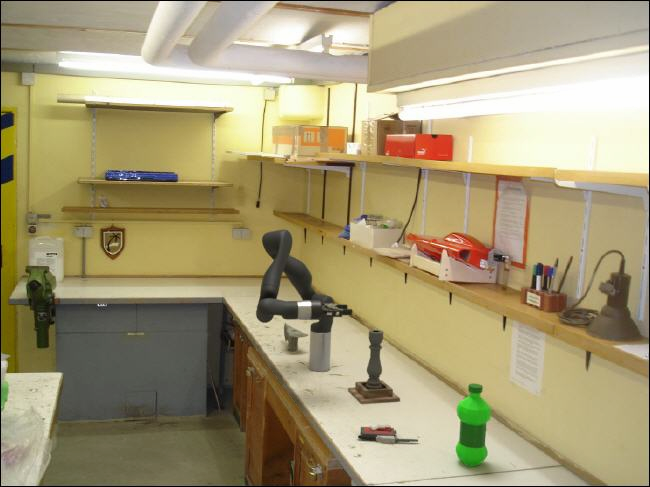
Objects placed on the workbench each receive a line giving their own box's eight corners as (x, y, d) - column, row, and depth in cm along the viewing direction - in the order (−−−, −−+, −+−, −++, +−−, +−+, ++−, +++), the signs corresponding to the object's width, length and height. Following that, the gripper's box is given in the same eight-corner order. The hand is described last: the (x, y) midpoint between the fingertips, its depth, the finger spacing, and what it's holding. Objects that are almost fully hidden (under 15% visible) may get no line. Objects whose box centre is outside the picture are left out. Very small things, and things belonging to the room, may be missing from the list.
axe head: (274, 342, 366) (274, 322, 365) (292, 341, 370) (293, 321, 368) (290, 356, 341) (291, 336, 340) (309, 355, 344) (310, 334, 343)
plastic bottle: (455, 454, 236) (460, 378, 233) (489, 459, 233) (494, 383, 230) (451, 466, 226) (456, 388, 223) (486, 471, 223) (491, 392, 220)
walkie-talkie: (358, 443, 242) (418, 446, 243) (358, 431, 242) (419, 433, 242) (356, 433, 251) (415, 435, 251) (357, 421, 251) (415, 423, 251)
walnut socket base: (348, 390, 295) (348, 380, 295) (385, 388, 300) (385, 378, 299) (361, 403, 280) (361, 393, 280) (399, 401, 285) (400, 390, 284)
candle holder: (371, 389, 294) (374, 328, 291) (384, 393, 290) (387, 331, 287) (362, 393, 289) (365, 331, 286) (375, 396, 285) (377, 334, 282)
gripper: (312, 304, 273) (354, 304, 276) (305, 296, 286) (345, 296, 290) (311, 324, 273) (353, 323, 277) (305, 315, 287) (345, 315, 291)
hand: (349, 309), depth 283 cm, fingers open, 8 cm apart
